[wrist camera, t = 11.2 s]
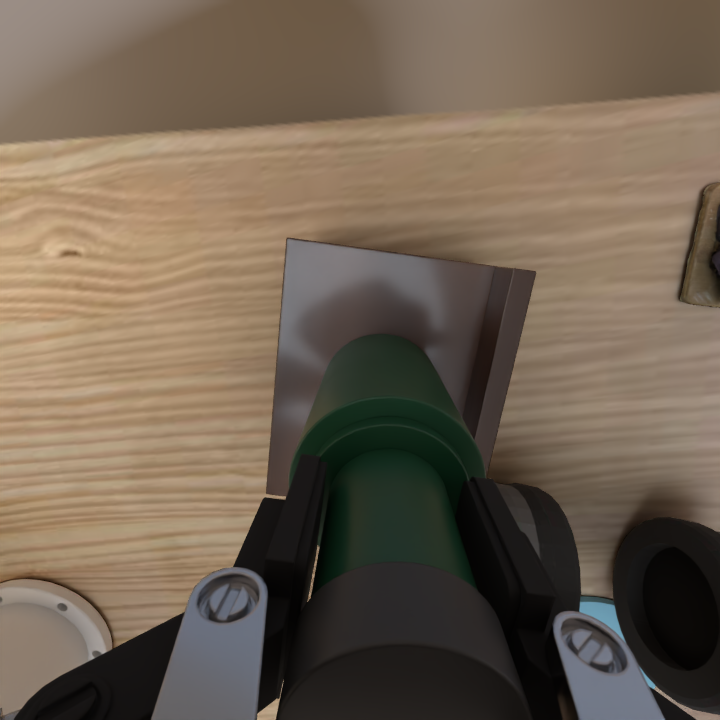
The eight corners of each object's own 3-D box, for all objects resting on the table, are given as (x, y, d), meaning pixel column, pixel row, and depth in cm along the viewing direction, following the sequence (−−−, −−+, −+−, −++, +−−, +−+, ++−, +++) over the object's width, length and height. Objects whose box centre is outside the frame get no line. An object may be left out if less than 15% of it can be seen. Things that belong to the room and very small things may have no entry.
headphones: (705, 498, 31) (1277, 920, 11) (646, 609, 33) (1023, 1098, 14) (466, 445, 30) (639, 794, 11) (427, 563, 33) (507, 1007, 14)
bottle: (316, 434, 22) (193, 851, 7) (329, 325, 20) (205, 546, 5) (427, 449, 22) (554, 895, 7) (448, 342, 20) (676, 607, 5)
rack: (292, 432, 30) (252, 523, 20) (310, 241, 27) (273, 235, 17) (436, 451, 30) (468, 551, 20) (474, 263, 27) (537, 271, 17)
